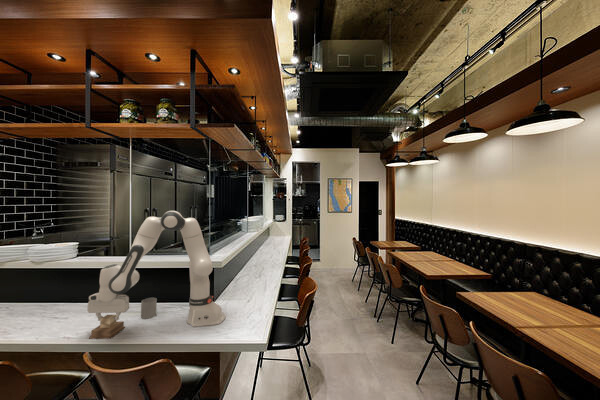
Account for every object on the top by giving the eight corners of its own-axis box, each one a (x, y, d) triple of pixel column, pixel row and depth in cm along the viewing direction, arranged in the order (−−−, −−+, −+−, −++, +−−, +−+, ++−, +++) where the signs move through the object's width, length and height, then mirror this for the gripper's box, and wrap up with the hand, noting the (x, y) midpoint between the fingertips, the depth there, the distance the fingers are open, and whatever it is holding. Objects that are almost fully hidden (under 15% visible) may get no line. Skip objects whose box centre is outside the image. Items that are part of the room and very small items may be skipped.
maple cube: (116, 323, 136) (116, 314, 136) (109, 328, 131) (110, 318, 131) (107, 323, 136) (107, 314, 136) (100, 328, 131) (100, 318, 131)
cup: (138, 319, 149) (139, 303, 150) (143, 314, 157) (143, 298, 158) (154, 318, 152) (154, 301, 152) (158, 312, 160) (158, 297, 160)
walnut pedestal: (125, 328, 139) (125, 320, 139) (111, 338, 128) (111, 330, 128) (105, 328, 138) (105, 321, 139) (88, 338, 127) (89, 331, 127)
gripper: (132, 292, 137) (131, 317, 137) (94, 292, 136) (94, 317, 136) (124, 296, 131) (124, 322, 131) (85, 297, 130) (84, 323, 130)
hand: (108, 320), depth 133 cm, fingers open, 7 cm apart
